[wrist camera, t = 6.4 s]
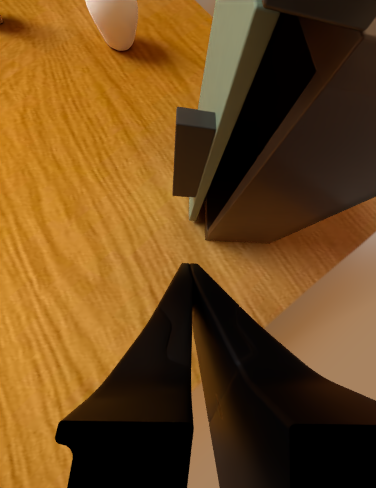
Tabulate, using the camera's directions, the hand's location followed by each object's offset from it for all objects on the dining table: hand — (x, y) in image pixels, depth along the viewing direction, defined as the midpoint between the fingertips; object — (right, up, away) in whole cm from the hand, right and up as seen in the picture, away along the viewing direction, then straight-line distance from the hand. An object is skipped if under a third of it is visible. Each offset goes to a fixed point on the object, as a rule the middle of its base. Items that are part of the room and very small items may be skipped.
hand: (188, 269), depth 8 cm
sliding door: (-1, +8, +10) cm, 13 cm away
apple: (-11, +35, +17) cm, 40 cm away
